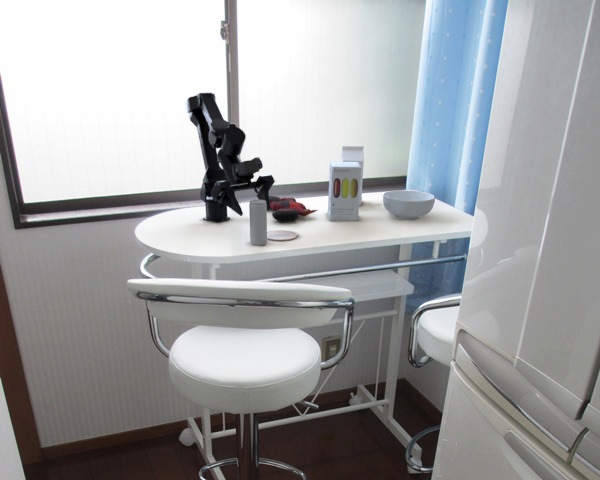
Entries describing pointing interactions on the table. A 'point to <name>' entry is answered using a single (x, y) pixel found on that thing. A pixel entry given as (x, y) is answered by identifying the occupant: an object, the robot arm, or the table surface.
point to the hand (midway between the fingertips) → (255, 212)
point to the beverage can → (258, 222)
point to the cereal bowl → (408, 203)
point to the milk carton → (354, 160)
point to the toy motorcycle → (287, 209)
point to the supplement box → (344, 191)
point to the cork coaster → (281, 235)
